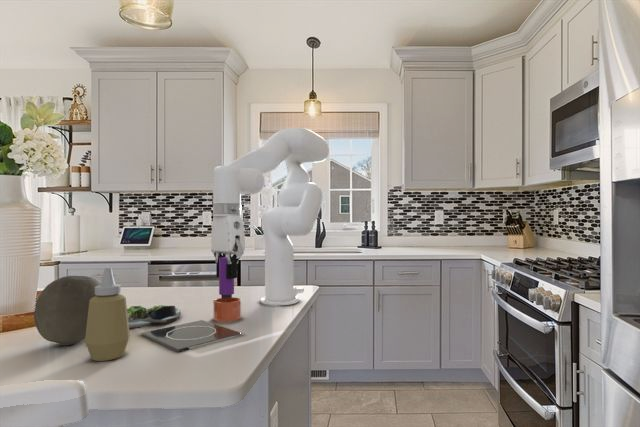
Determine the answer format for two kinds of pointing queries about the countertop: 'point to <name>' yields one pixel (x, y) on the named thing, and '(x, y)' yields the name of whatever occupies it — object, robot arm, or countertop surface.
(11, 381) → the countertop surface
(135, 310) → the salad plate
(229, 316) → the pen pot
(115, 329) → the squeeze bottle
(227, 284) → the cylinder
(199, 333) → the slate board
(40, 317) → the cantaloupe
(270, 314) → the countertop surface
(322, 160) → the robot arm
